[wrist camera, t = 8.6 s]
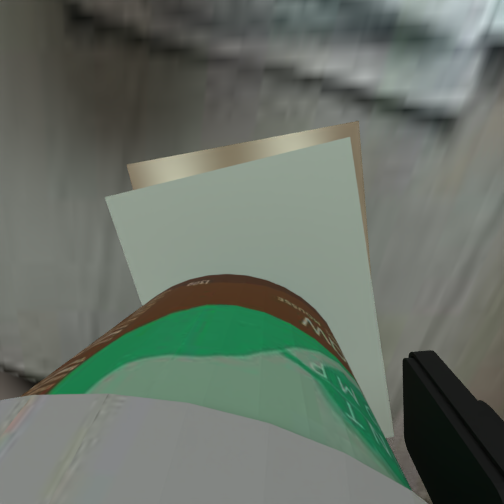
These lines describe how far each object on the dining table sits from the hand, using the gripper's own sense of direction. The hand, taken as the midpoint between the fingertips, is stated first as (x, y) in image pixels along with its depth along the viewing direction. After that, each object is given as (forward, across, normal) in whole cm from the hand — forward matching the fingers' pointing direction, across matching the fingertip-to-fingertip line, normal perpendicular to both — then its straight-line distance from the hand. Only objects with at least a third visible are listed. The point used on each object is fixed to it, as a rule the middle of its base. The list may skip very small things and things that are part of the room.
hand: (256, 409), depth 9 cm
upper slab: (+9, 0, 0) cm, 9 cm away
